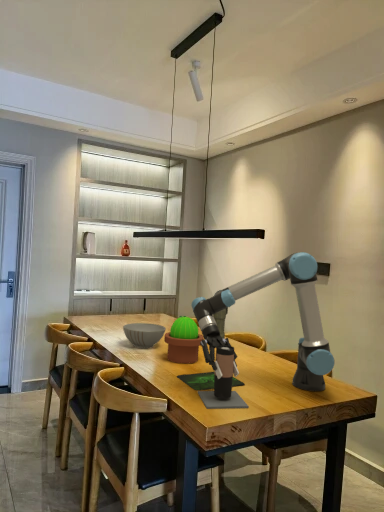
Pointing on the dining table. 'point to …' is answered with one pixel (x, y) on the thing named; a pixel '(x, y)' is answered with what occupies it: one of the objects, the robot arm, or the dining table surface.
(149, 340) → the decorative bowl
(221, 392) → the travel mug
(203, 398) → the rubber mat
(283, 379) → the dining table surface
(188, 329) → the potted cactus
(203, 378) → the mouse mat
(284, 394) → the dining table surface
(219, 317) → the olive grey tall piece
